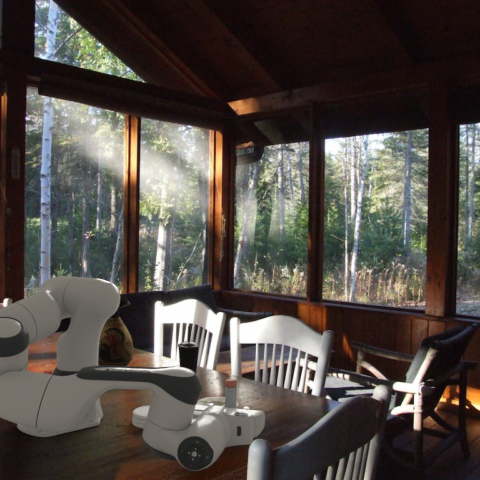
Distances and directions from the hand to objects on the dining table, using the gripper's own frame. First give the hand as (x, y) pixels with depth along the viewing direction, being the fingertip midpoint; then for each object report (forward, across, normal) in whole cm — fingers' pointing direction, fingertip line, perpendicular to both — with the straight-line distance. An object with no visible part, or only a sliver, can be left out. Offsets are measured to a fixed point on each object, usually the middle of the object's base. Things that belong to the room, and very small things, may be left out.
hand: (229, 408), depth 133 cm
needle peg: (+3, 0, -8) cm, 8 cm away
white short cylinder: (+6, -23, -8) cm, 25 cm away
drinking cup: (+44, -25, -8) cm, 51 cm away
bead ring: (+16, -7, -8) cm, 19 cm away
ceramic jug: (+52, -58, -8) cm, 78 cm away
